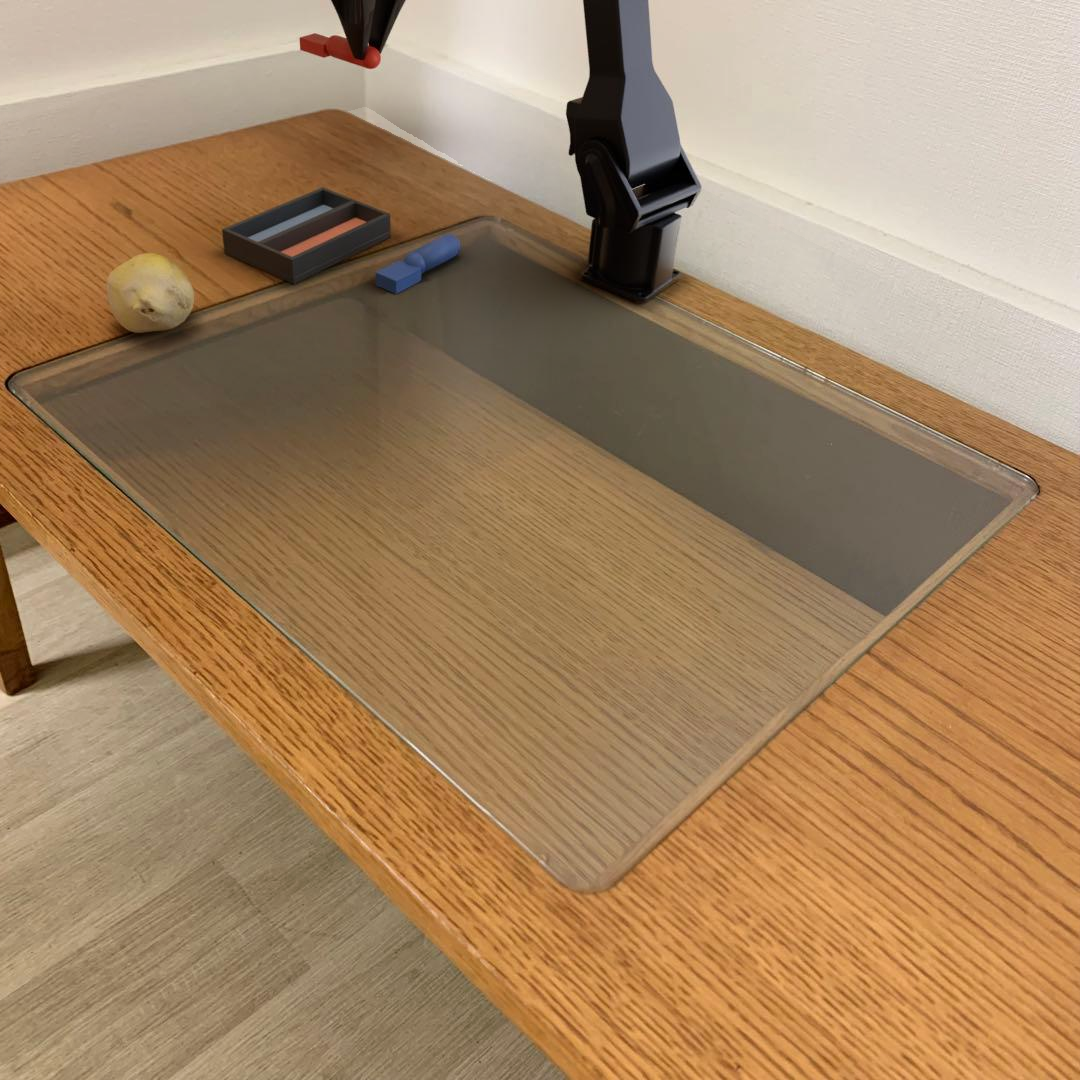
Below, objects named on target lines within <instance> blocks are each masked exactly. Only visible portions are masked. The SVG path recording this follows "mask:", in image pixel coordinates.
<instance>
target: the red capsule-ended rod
mask: <svg viewBox="0 0 1080 1080" xmlns="http://www.w3.org/2000/svg"><path fill="white" fill-rule="evenodd" d="M299 50H300V51H301V52H305V53H308V54H311V55H314V56H317V57H319V58H328V57H332V58H334V59H337V60H340V61H343V62H345V63H350V64H352V65H355V66H359V67H362V68H365V69H367V70H374V69H376V68H378V66H379V65H380V64H381V60H382V57H381V56H382V55H381V54H380V53H379V51H378V50H377V49H376V48H374V47H372V46H369V44H368V47H367V51H366V55H365V59H364V60H358V59H355V58H354V57H353V54H352V52H351V49H350V46H349V44H348V41H347V38H346V37H344V36H340V35H338V34H337V35H336V34H334V35H330V36H329V37H328V36H325V35H322V34H320V33H315V32H314V33H310V34H307V35H303V36H299Z"/></svg>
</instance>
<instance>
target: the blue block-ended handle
mask: <svg viewBox="0 0 1080 1080" xmlns="http://www.w3.org/2000/svg"><path fill="white" fill-rule="evenodd" d="M460 250H461V242H460V240H459V238H458V237H457V236H456V235H454V234H452V233H445V234H443V235H441V236H439V237H437V238H435V239H433V240H431V241H429V242H427V243H425V244H423V245H421V246H419V247H417V248H415V249H413V250H411V251H409V252H408V253H407V254H405V257H404V258H403V259H399V260H396V261H394V262H393V263H391V264H389V265H387V266H385V267H382V268H381V269H379V270H377V271H375V286H376V287H379V288H381V289H383V290H385V291H388V292H390V293H392V294H395V295H397V294H399V293H401V292H402V291H405V290H407V289H408V288H410V287H412V286H414V285H415V284H418V283H419V282H421V281H422V274H424V273H426V272H428V271H430V270H432V269H434V268H436V267H438V266H440V265H441V264H444V263H446V262H447V261H449V260H452V258H454V257H456V256H457V255H458V254H459V252H460Z"/></svg>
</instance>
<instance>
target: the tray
mask: <svg viewBox="0 0 1080 1080" xmlns="http://www.w3.org/2000/svg"><path fill="white" fill-rule="evenodd" d="M391 224H392V223H391V213H389V212H387V211H385V210H382V209H379V208H377V207H374V206H372V205H369V204H367V203H364V202H361V201H359V200H357V199H354V198H351V197H348V196H346V195H344V194H341V193H338V192H336V191H334V190H331V189H329V188H326V187H319V188H317V189H314V190H313V191H310V192H307V193H305V194H303V195H300V196H298V197H296V198H292V199H291V200H289V201H286V202H283V203H282V204H281V203H280V204H279V205H277V206H274V207H271V208H269V209H267V210H265V211H262V212H260V213H258V214H255V215H253V216H250V217H248V218H246V219H243V220H241V221H238V222H235V223H233V224H231V225H229V226H226V227H224V228H222V229H221V233H222V242H223V243H222V244H223V251H224V254H225V255H227V256H229V257H232V258H233V259H235V260H239V261H241V262H243V263H245V264H247V265H249V266H252V267H254V268H256V269H259V270H261V271H263V272H265V273H268V274H269V275H272V276H274V277H277V278H278V279H281V280H282V281H285V282H287V283H290V284H292V285H296V284H298V283H300V282H302V281H303V280H306V279H308V278H310V277H312V276H314V275H316V274H318V273H321V272H322V271H325V270H326V269H328V268H330V267H333V266H334V265H336V264H339V263H340V262H343V261H345V260H347V259H349V258H351V257H353V256H355V255H357V254H359V253H361V252H363V251H366V250H367V249H370V248H371V247H374V246H375V245H378V244H379V243H382V242H383V241H386V240H388V239H390V238H391V237H392V236H391V235H392V234H391V229H392V228H391V227H392V226H391Z"/></svg>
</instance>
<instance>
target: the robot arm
mask: <svg viewBox="0 0 1080 1080" xmlns="http://www.w3.org/2000/svg"><path fill="white" fill-rule="evenodd" d="M406 1H407V0H330V2H331V3H332V6H333V7H334V10H335V12H336V15H337V16H338V19H339V22H340V25H341V27H342V30H343V33H344V35H345V38H347V41H348V44H349V46H350V49H351V52H352V54H353V57H354V58H355V59H358V60H364V59H365V55H366V51H367V47H368V45H369V46H372V47H374V48H376V49H377V50H378V51H379V53H380V55H381V54H382V53H383V50H384V48H385V46H386V43H387V41H388V38H389V37H390V34H391V32H392V30H393V27H394V25H395V23H396V20H397V19H398V16H399V14H400V12H401V10H402V8H403V6H404V5H405V3H406ZM582 5H583V16H584V26H585V37H586V46H587V47H586V49H587V59H588V68H589V69H588V70H589V71H588V80H587V83H586V86H585V88H584V92H583V93H582V96H581V97H577V98H575V99H572V100H569V101H567V102H566V108H565V116H566V117H565V118H566V121H567V125H568V130H569V148H568V153H567V154H568V156H570V157H571V156H574V161H575V167H576V170H577V173H578V175H579V178H580V184H581V192H582V196H583V203H584V208H585V213H586V215H587V216H588V217H591V218H593V219H592V220H591V227H590V236H589V246H588V254H587V264H588V265H589V267H588V268H586V269H584V270H582V271H581V272H580V280H582V281H584V282H587V283H590V284H592V285H594V286H597V287H599V288H602V289H604V290H607V291H610V292H612V293H615V294H618V295H620V296H622V297H626V298H628V299H630V300H633V301H635V302H638V303H647V302H649V301H650V300H651V299H653V298H654V297H656V296H657V295H658V294H660V293H661V292H662V291H664V290H665V289H667V288H668V287H670V286H671V285H673V284H674V283H676V282H677V281H678V280H680V278H681V271H679V270H677V269H674V266H675V260H676V259H675V258H676V252H677V246H678V240H679V234H680V229H681V228H680V227H681V223H682V215H681V214H679V213H677V212H679V211H682V210H684V209H689V208H691V207H693V206H694V204H695V202H696V201H697V198H698V197H699V195H700V193H701V192H702V188H703V187H702V184H701V181H700V179H699V178H698V176H697V173H696V172H695V170H694V168H693V166H692V163H691V162H690V159H689V158H688V156H687V154H686V151H685V150H684V148H683V146H682V144H681V138H680V132H679V127H678V122H677V117H676V112H675V106H674V101H673V99H672V97H671V95H670V94H669V92H668V91H667V89H666V87H665V85H664V83H663V82H662V80H661V79H660V77H659V75H658V74H657V72H656V70H655V67H654V63H653V51H652V35H651V21H650V20H651V19H650V7H649V6H650V5H649V0H582Z"/></svg>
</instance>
